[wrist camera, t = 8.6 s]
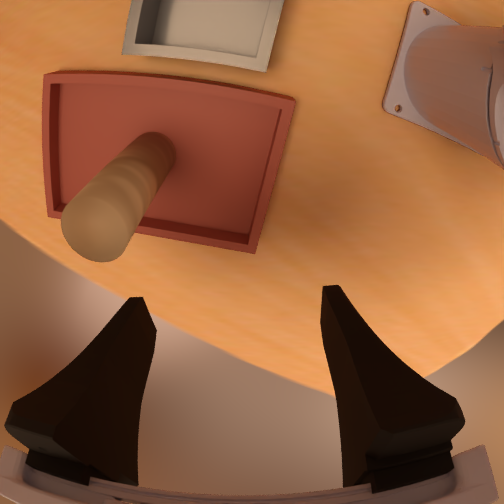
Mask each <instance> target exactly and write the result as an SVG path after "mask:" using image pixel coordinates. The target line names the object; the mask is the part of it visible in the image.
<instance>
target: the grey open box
mask: <svg viewBox="0 0 504 504" xmlns="http://www.w3.org/2000/svg"><path fill="white" fill-rule="evenodd" d="M283 3H284V0H132V1H131V6H130V10H129V15H128V20H127V26H126V31H125V37H124V43H123V49H122V55H143V56H157V57H169V58H179V59H187V60H196V61H203V62H210V63H217V64H223V65H229V66H235V67H240V68H246V69H251V70H256V71H261V72H265V73H266V71H267V66H268V62H269V58H270V54H271V50H272V46H273V42H274V38H275V34H276V30H277V26H278V22H279V18H280V15H281V11H282V7H283Z"/></svg>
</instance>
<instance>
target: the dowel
mask: <svg viewBox="0 0 504 504" xmlns="http://www.w3.org/2000/svg"><path fill="white" fill-rule="evenodd" d="M175 160H176V150H175V147H174V145H173V143H172V141H171V140H170V139H169V138H168V137H167V136H165V135H163V134H161V133H159V132H146V133H143V134H141V135H140V136H138V137H137V138H136V139H135V140H134V141H133V142H131V143H130V144H129V145H128V146H127V147H126V148H125V149H124V150H122V151H121V152H120V153H119V154H118V155H117V156H116V157H115V158H114V159H113V160H111V161H110V162H109V163H108V164H107V165H106V166H105V167H104V168H103V169H102V170H101V171H100V172H99V173H98V174H97V175H96V176H95V177H94V178H93V179H92V180H91V181H90V182H89V183H88V184H87V185H86V186H85V187H84V188H83V189H82V190H81V191H80V192H79V193H78V194H77V195H76V196H75V197H74V198H73V199H72V200H71V201H70V202H69V203H68V204H67V205H66V207H65V208H64V210H63V212H62V216H61V228H62V232H63V235H64V237H65V239H66V241H67V242H68V244H69V245H70V246H71V247H72V249H73V250H75V251H76V252H77V253H78V254H79V255H81V256H82V257H84V258H86V259H89V260H91V261H95V262H109V261H113V260H115V259H117V258H118V257H119V256H121V254H122V253H123V252H124V250H125V249H126V247H127V245H128V243H129V241H130V239H131V237H132V235H133V234H134V232H135V230H136V228H137V226H138V225H139V223H140V221H141V219H142V217H143V216H144V214H145V212H146V210H147V209H148V207H149V205H150V204H151V202H152V200H153V198H154V197H155V195H156V193H157V192H158V190H159V188H160V187H161V185H162V183H163V182H164V180H165V178H166V177H167V175H168V174H169V172H170V170H171V169H172V167H173V165H174V163H175Z"/></svg>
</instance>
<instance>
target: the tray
mask: <svg viewBox="0 0 504 504" xmlns="http://www.w3.org/2000/svg"><path fill="white" fill-rule="evenodd" d="M295 104H296V101H295V100H294V99H293V97H290V96H285V95H281V94H277V93H272V92H268V91H263V90H259V89H254V88H249V87H244V86H238V85H233V84H227V83H221V82H215V81H209V80H202V79H195V78H187V77H179V76H170V75H160V74H149V73H136V72H119V71H56V72H52V73H48V74H44V78H43V96H42V151H43V170H44V184H45V195H46V205H47V213H48V217H51V218H57V219H61V216H62V212H63V210H64V208H65V207H66V205H67V204H68V203H69V202H70V201H71V200H72V199H73V198H74V197H75V196H76V195H77V194H78V193H79V192H80V191H81V190H82V189H83V188H84V187H85V186H86V185H87V184H88V183H89V182H90V181H91V180H92V179H93V178H94V177H95V176H96V175H97V174H98V173H99V172H100V171H101V170H102V169H103V168H104V167H105V166H106V165H107V164H108V163H109V162H110V161H111V160H113V159H114V158H115V157H116V156H117V155H118V154H119V153H120V152H121V151H122V150H124V149H125V148H126V147H127V146H128V145H129V144H130V143H131V142H133V141H134V140H135V139H136V138H137V137H138V136H140V135H141V134H143V133H146V132H159V133H161V134H163V135H165V136H167V137H168V138H169V139H170V140H171V141H172V143H173V145H174V147H175V150H176V160H175V163H174V165H173V167H172V169H171V170H170V172H169V174H168V175H167V177H166V178H165V180H164V182H163V183H162V185H161V187H160V188H159V190H158V192H157V193H156V195H155V197H154V198H153V200H152V202H151V204H150V205H149V207H148V209H147V210H146V212H145V214H144V216H143V217H142V219H141V221H140V223H139V225H138V226H137V228H136V230H135V233H140V234H146V235H151V236H157V237H163V238H168V239H174V240H179V241H185V242H191V243H196V244H202V245H207V246H213V247H219V248H224V249H230V250H235V251H241V252H247V253H252V254H255V252H256V249H257V245H258V241H259V237H260V234H261V230H262V226H263V223H264V219H265V215H266V212H267V208H268V204H269V200H270V197H271V193H272V189H273V186H274V182H275V178H276V174H277V171H278V167H279V163H280V160H281V156H282V152H283V148H284V145H285V141H286V137H287V134H288V130H289V126H290V122H291V119H292V115H293V111H294V107H295Z"/></svg>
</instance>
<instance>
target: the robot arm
mask: <svg viewBox="0 0 504 504" xmlns="http://www.w3.org/2000/svg"><path fill="white" fill-rule="evenodd" d="M423 9H425V10H426V11H427V15H425V14H424V13H423ZM396 105H399V106H400V109H399V111H395V106H396ZM382 106H383V109H384V110H385V111H386V112H388V113H390V114H393V115H395V116H398V117H400V118H403V119H405V120H408V121H410V122H413V123H415V124H417V125H420V126H422V127H424V128H427V129H429V130H431V131H434V132H436V133H438V134H440V135H442V136H444V137H447V138H449V139H451V140H453V141H455V142H457V143H459V144H461V145H463V146H465V147H467V148H469V149H471V150H473V151H475V152H477V153H479V154H481V155H482V156H485V157H487V158H488V159H489V160H491V161H492V162H494V163H495V164H497V165H498V166H500V167H501V168H502V169H504V26H503V27H502V28H497V27H484V26H462V25H461V24H459V23H457V22H456V21H454V20H452V19H451V18H449V17H447V16H446V15H444V14H442V13H440V12H439V11H437V10H435V9H433V8H431V7H430V6H428V5H426V4H424V3H422V2H419V1H414V2H412V3H411V5H410V8H409V12H408V16H407V20H406V24H405V27H404V31H403V35H402V39H401V42H400V46H399V49H398V53H397V57H396V60H395V63H394V67H393V70H392V74H391V77H390V80H389V84H388V87H387V90H386V93H385V96H384V100H383V104H382ZM320 324H321V332H322V339H323V346H324V350H325V354H326V358H327V362H328V366H329V370H330V374H331V378H332V382H333V386H334V390H335V395H336V400H337V409H338V418H339V427H340V438H341V452H342V469H343V488H338V489H331V490H323V491H315V492H305V493H293V494H277V495H211V494H195V493H183V492H173V491H165V490H157V489H150V488H144V487H137V486H138V485H139V484H138V461H137V459H138V432H139V430H138V429H139V419H140V410H141V403H142V397H143V393H144V389H145V385H146V381H147V377H148V374H149V370H150V366H151V362H152V358H153V354H154V348H155V341H156V332H157V330H156V328H155V325H154V323H153V321H152V318H151V316H150V313H149V311H148V309H147V306H146V304H145V301H144V299H143V297H130V298H129V299H128V300H127V301H126V302H125V303H124V304H123V306H122V307H121V308H120V309H119V311H118V312H117V313H116V314H115V315H114V316H113V318H112V319H111V320H110V321H109V322H108V324H107V325H106V326H105V327H104V328H103V330H102V331H101V332H100V333H99V334H98V335H97V336H96V337H95V338H94V340H93V341H92V342H91V343H90V344H89V345H88V346H87V347H86V348H85V349H84V350H83V351H82V352H81V353H80V355H78V356H77V357H76V358H75V359H74V360H73V361H72V362H71V363H70V364H69V365H68V366H66V367H65V368H64V369H63V370H61V371H60V372H59V373H58V374H56V375H55V376H54V377H53V378H52V379H50V380H49V381H48V382H46V383H45V384H43V385H42V386H41V387H39V388H37V389H36V390H34V391H32V392H31V393H29V394H27V395H26V396H24V397H22V398H20V399H18V400H17V401H15V402H13V404H12V407H11V409H10V412H9V415H8V417H7V420H6V422H5V425H4V426H5V428H6V430H7V431H8V433H10V434H11V435H12V436H13V437H14V438H15V439H17V440H18V441H20V442H21V443H22V444H23V445H25V446H26V447H27V448H29V452H28V454H26V453H25V452H23V451H20V450H18V449H15V448H13V447H10V446H8V445H5V446H4V449H3V452H2V455H1V459H0V495H2V496H4V497H6V498H7V499H9V500H11V501H13V502H15V503H17V504H129V503H133V504H491V503H493V502H495V501H497V500H498V498H499V497H498V493H497V489H496V485H495V481H494V477H493V474H492V469H491V466H490V463H489V459H488V456H487V452H486V449H485V446H484V445H480V446H477V447H475V448H472V449H470V450H467V451H464V452H461V453H459V454H457V455H455V456H453V457H451V453H450V451H451V450H452V448H453V446H452V443H451V439H452V438H453V437H454V436H455V435H456V434H457V433H458V432H459V431H460V430H461V429H462V428H463V426H464V424H465V418H464V415H463V412H462V410H461V407H460V406H459V404H458V402H457V400H456V398H455V397H453V396H451V395H449V394H448V393H446V392H444V391H443V390H441V389H439V388H437V387H436V386H434V385H433V384H431V383H430V382H428V381H427V380H425V379H424V378H423V377H421V376H420V375H419V374H418V373H416V372H415V371H414V370H413V369H411V368H410V367H409V366H408V365H406V364H405V363H404V362H403V361H402V360H401V359H400V358H398V357H397V356H396V355H395V354H394V353H393V352H392V351H391V350H390V349H389V348H388V347H387V346H386V345H385V344H384V343H383V342H382V341H381V340H380V338H379V337H378V336H377V335H376V334H375V333H374V332H373V330H372V329H371V328H370V327H369V326H368V324H367V323H366V322H365V321H364V319H363V318H362V317H361V316H360V314H359V313H358V312H357V310H356V309H355V308H354V306H353V305H352V303H351V302H350V301H349V299H348V298H347V296H346V295H345V293H344V292H343V290H342V288H341V287H340V286H339V285H330V286H323V290H322V305H321V319H320ZM121 501H123V502H121ZM125 502H128V503H125Z"/></svg>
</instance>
